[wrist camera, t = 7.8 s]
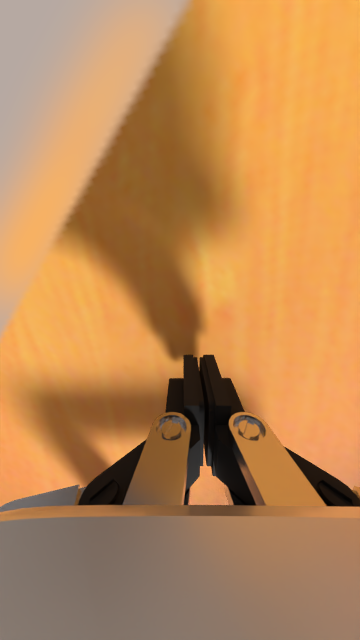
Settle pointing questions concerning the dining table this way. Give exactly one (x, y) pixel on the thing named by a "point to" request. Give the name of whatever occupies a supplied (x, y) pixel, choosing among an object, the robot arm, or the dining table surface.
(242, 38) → the dining table surface
